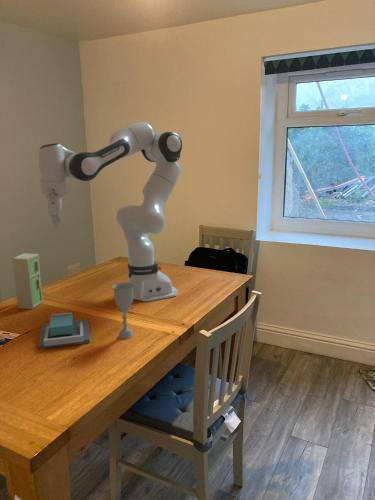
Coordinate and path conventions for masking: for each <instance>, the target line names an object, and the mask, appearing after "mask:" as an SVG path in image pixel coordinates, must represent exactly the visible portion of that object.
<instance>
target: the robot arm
mask: <svg viewBox="0 0 375 500" xmlns="http://www.w3.org/2000/svg"><path fill="white" fill-rule="evenodd" d="M182 150H183V141H182V138H181V136H180V135H179V134H178V133H176V132H174V131H165V132H162V133H159V134H158V133H155V132H154V129H153V127H152V126H151V125H150V124H149V123H148V122H145V121H141V122H136V123H132V124H128V125H126V126H124V127H122V128H120V129H118V130H117V131H115V132H113V133H112V134H111V135H110V137H109V144H108V145H106V146H103V147H102V148H100V149H97V150H96V151H93V152H89V151H88V152H86V151H85V152H75V151H72V150H71V149H68V148H66V147H64V146H63V145H62V144H61V143H59V142H55V143H48V144H44V145H41V146H40V147H39V150H38V169H39V171H40V179H39V181H40V191H41V194H42V195H45V198H46V199H47V207H48V217H50V218H52V220H51V221H52V224H53V225H52V226H53V228H54V229H58V228H59V227H60V226H59V224H60V223H61V220H60V216H61V212H62V208H63V198H64V194H67V182H66V181H67V180H66V178H70V179H74V180H80V181H82V182H88V181H89V182H90V181H92V180H94V179H95V178H96V177H97V176H98V175H99V173H100V172H101V171H102V170H103V169H104V168H106V167H108V166H109V165H111V164H113V163H115V162H116V161H119V160H120V159H123V158H127V157H129V156H132V155H134V154H136V153H139V152H141V153H142V156H143V158H144V159H146V160H147V161H148V162H150V163H155V168H154V170H153V171H152V173H151V174H150V177H149V179H148V180H147V181H146V183H145V184H144V186H143V188H142V195H143V201H142V203H141V205H140V206H139V205H135V204H128V205H124V206H121V207H119V209H118V210H117V212H116V216H115V218H116V222H117V224H118V225H119V227H120V228H121V230H122V233H123V235H124V238H125V242H126V247H127V255H128V256H127V258H128V264H127V277H128V282H127V283H133V284H134V287H133V300H138V301H141V302H152V301H156V300H164V299H169V298H174V297H176V296H178V290H177V288H176V287H175V286H173V284H172V280H171V278H169V276H167V275H166V274H165V273H163V272H161V270H162V266H161V265H159V263H157V262H155V246H154V244H153V242H152V241H151V240H150V238H149V236H148V235H156V234H160V233H162V232H163V230H164V228H165V226H166V216H165V215H164V208H165V205H166V202H167V200H168V199H169V197H170V195H171V193H172V191H173V189H174V188H175V186H176V184H177V181H178V179H179V176H180V174H181V166H180V164H179V163H178V161H179V160H180V158H181V152H182Z"/></svg>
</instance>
